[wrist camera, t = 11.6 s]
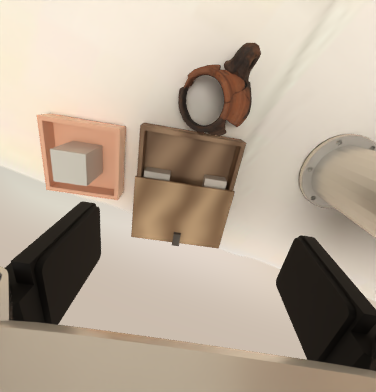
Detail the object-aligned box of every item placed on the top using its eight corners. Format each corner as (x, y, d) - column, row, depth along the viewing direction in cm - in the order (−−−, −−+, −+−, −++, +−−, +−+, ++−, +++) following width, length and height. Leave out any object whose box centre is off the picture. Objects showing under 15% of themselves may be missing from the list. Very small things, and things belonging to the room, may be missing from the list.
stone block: (102, 145, 32) (85, 154, 27) (102, 172, 34) (87, 186, 29) (73, 140, 32) (49, 148, 27) (74, 168, 34) (53, 181, 29)
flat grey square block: (171, 170, 34) (170, 174, 32) (168, 189, 36) (167, 195, 34) (146, 166, 34) (144, 170, 32) (145, 186, 35) (142, 191, 33)
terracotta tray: (125, 126, 32) (119, 129, 29) (123, 192, 37) (117, 200, 34) (50, 113, 31) (36, 114, 28) (57, 182, 36) (46, 189, 33)
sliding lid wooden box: (242, 139, 33) (249, 144, 29) (215, 237, 41) (218, 251, 37) (143, 122, 32) (137, 125, 28) (135, 226, 40) (130, 239, 36)
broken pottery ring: (234, 143, 34) (213, 153, 27) (190, 110, 35) (161, 112, 29) (287, 65, 26) (276, 54, 20) (229, 28, 28) (202, 7, 22)
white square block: (224, 177, 35) (227, 181, 33) (219, 198, 36) (221, 203, 35) (204, 174, 35) (205, 178, 33) (199, 195, 36) (200, 200, 34)
